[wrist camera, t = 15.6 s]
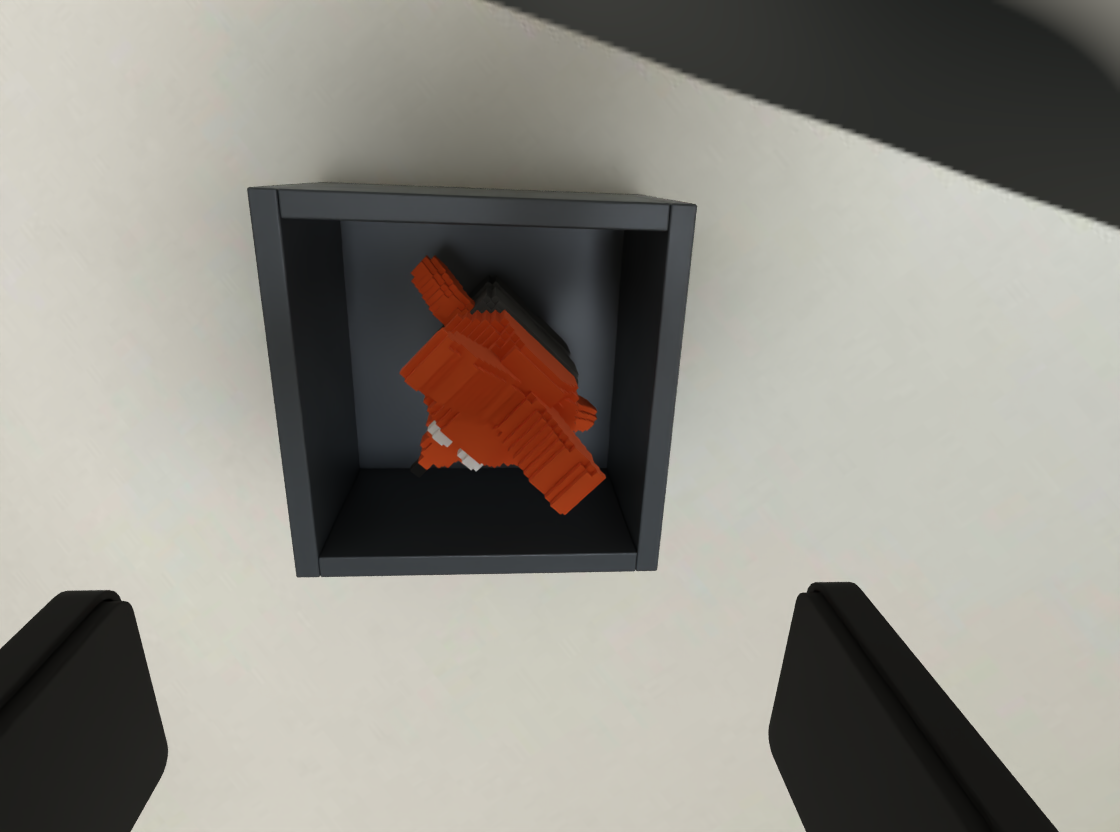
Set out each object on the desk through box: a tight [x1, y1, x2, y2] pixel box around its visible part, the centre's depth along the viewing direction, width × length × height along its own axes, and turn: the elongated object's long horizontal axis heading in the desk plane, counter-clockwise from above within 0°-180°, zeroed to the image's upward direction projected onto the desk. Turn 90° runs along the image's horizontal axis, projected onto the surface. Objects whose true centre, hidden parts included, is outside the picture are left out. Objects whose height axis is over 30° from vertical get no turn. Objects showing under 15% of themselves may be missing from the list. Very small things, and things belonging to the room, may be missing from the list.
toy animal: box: [399, 256, 606, 515], centre depth 21 cm, size 8×5×12 cm
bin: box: [247, 182, 697, 577], centre depth 24 cm, size 13×13×8 cm
